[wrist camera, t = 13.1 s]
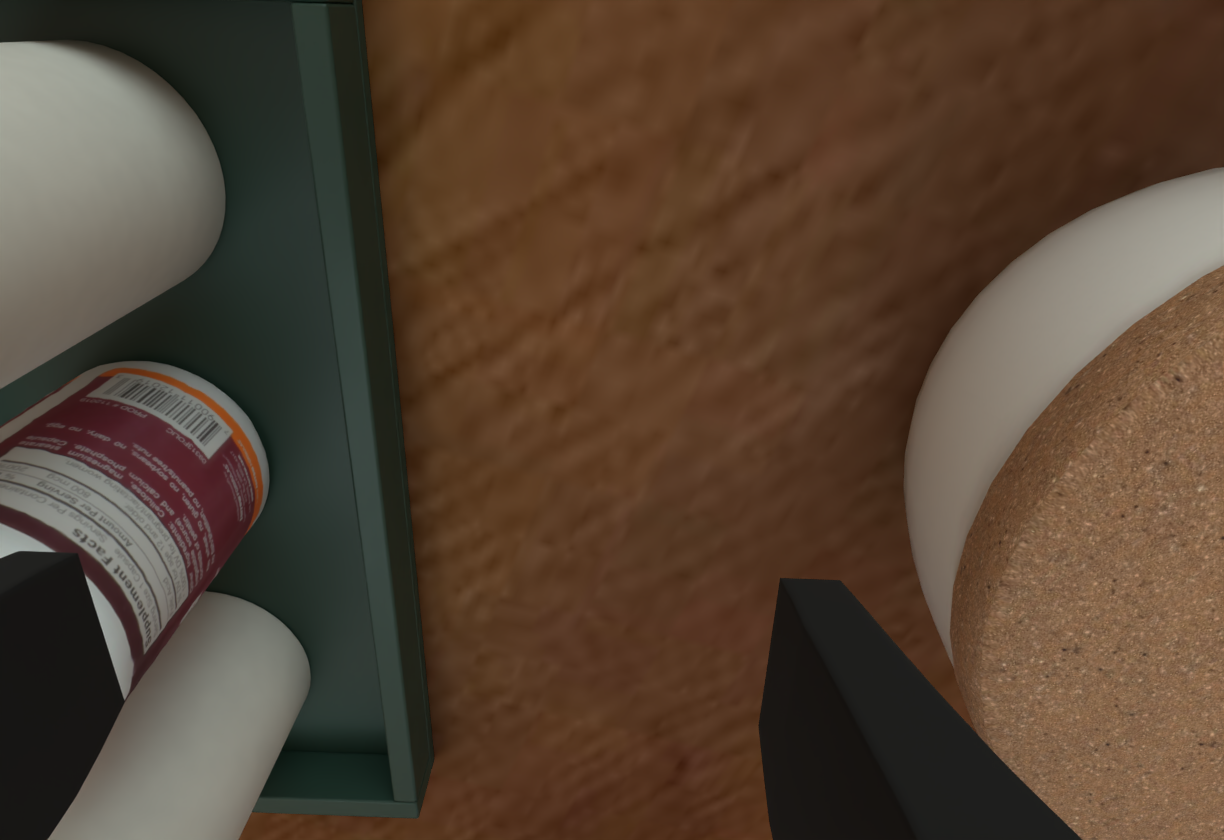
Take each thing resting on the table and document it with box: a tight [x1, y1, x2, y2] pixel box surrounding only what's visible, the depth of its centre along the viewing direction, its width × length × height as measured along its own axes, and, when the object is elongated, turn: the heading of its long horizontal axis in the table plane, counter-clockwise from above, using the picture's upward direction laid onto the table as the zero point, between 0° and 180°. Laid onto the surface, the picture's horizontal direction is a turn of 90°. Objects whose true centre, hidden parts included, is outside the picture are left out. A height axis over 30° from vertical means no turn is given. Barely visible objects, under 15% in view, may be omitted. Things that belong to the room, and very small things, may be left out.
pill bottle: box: [0, 361, 270, 701], centre depth 14 cm, size 5×5×8 cm
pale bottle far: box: [48, 591, 311, 840], centre depth 17 cm, size 5×5×8 cm
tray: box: [0, 0, 434, 818], centre depth 18 cm, size 19×10×2 cm, turn 178°
